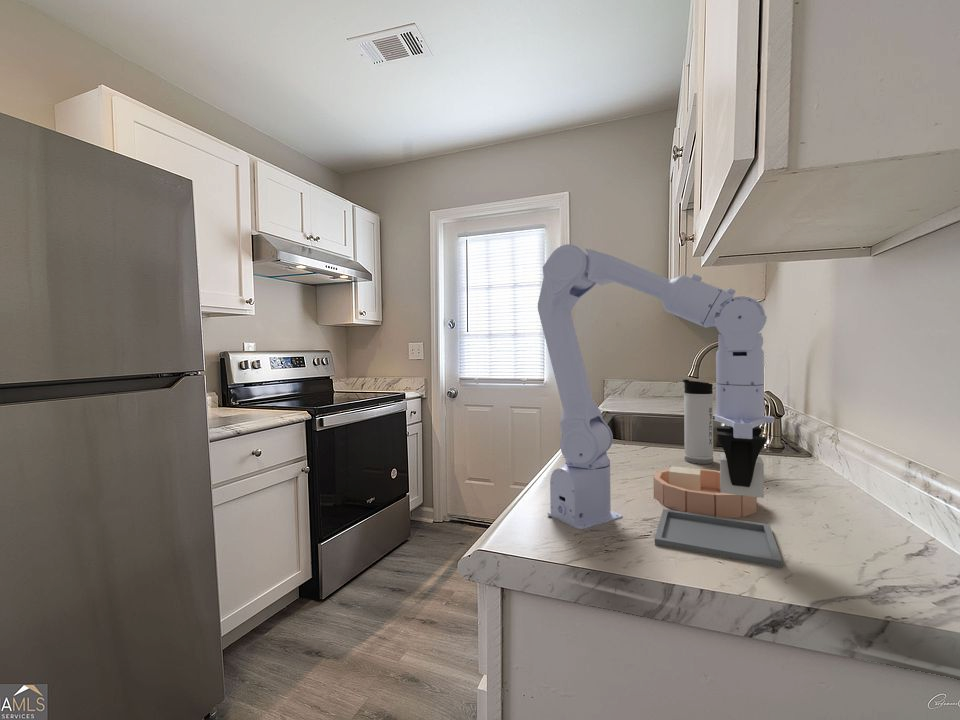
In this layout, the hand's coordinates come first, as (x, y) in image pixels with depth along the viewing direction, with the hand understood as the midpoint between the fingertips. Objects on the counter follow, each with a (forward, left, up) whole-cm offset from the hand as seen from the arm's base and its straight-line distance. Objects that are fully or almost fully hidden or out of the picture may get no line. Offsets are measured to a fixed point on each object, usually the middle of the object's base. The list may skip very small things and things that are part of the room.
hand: (739, 481), depth 61 cm
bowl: (+11, +13, -9) cm, 19 cm away
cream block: (+10, +15, -8) cm, 20 cm away
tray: (-2, +3, -9) cm, 9 cm away
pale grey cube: (0, 0, -1) cm, 1 cm away
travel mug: (+37, +31, -9) cm, 49 cm away
